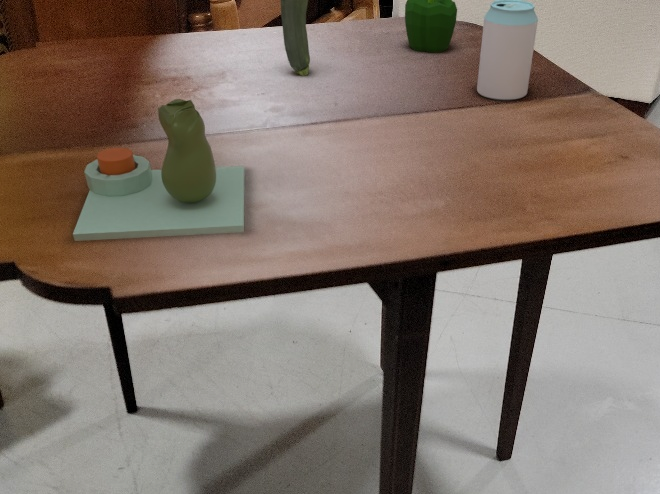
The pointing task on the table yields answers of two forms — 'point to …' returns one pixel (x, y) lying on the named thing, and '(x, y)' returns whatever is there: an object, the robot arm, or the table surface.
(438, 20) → the bell pepper
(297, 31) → the vegetable
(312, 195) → the table surface
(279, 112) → the table surface
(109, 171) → the button
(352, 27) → the table surface
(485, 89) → the can
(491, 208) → the table surface
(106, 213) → the pale green flat block
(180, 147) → the pear
